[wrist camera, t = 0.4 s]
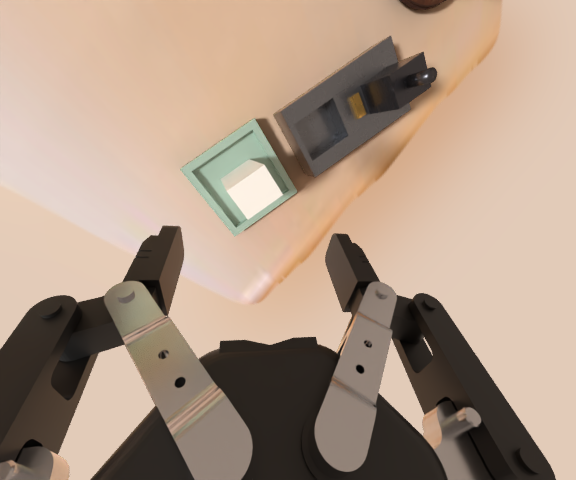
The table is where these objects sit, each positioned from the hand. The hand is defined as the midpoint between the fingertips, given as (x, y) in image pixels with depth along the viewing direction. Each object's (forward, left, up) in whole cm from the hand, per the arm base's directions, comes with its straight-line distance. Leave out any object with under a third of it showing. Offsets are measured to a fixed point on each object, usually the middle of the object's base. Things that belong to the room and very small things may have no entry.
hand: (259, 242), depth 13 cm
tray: (+2, +2, -26) cm, 26 cm away
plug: (+2, +2, -25) cm, 25 cm away
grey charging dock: (+2, +20, -26) cm, 33 cm away
